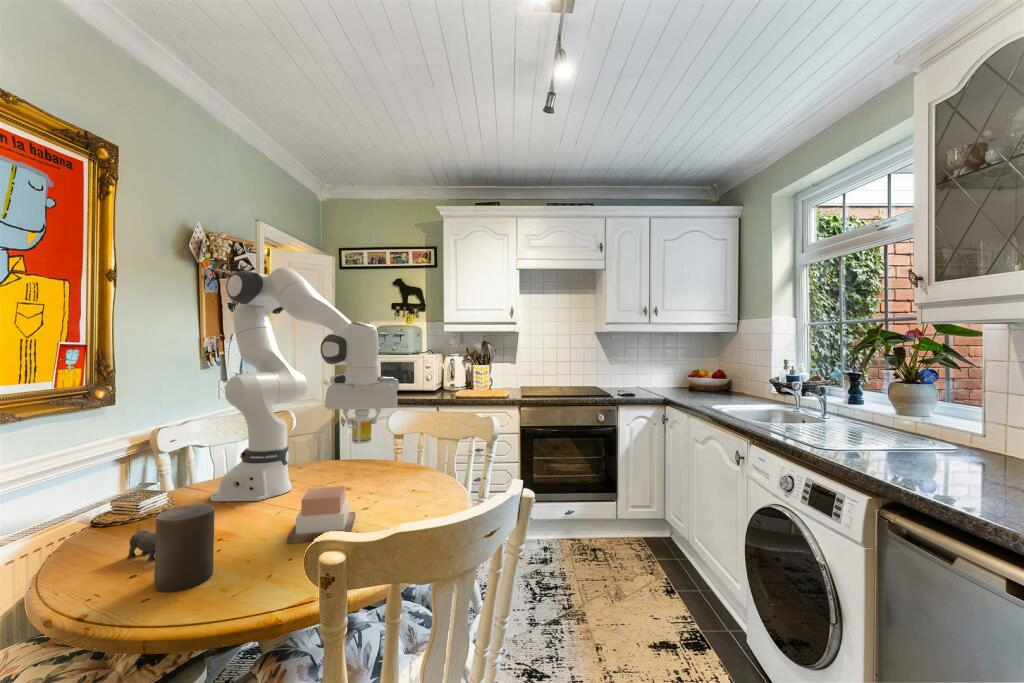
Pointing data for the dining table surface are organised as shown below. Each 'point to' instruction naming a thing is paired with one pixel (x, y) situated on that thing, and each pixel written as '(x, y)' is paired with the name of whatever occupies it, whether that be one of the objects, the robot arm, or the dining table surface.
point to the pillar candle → (184, 547)
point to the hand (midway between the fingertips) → (361, 424)
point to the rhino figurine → (143, 543)
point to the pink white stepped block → (323, 510)
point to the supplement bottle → (361, 427)
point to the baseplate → (311, 536)
